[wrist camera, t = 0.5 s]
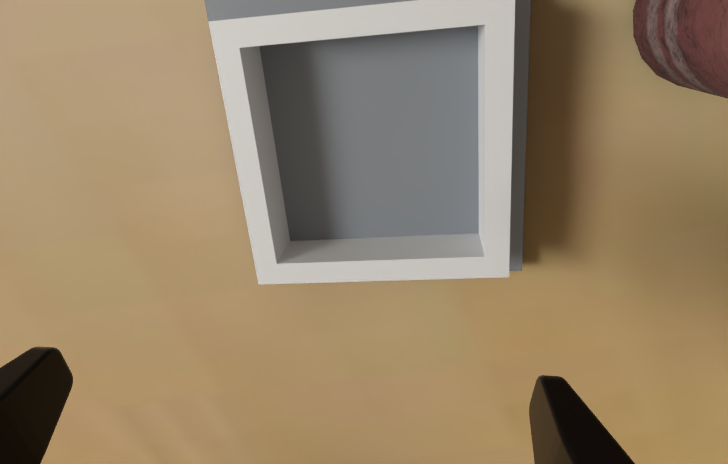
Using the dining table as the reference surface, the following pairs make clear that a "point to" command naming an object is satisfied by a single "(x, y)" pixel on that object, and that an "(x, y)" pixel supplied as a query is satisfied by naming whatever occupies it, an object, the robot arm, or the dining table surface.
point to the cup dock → (377, 135)
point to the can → (685, 42)
